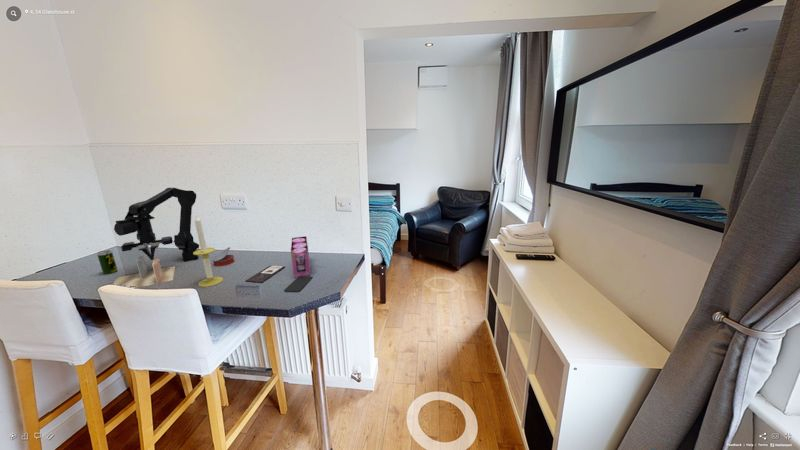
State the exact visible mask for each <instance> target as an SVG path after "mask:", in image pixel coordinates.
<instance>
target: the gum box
mask: <svg viewBox="0 0 800 450" xmlns="http://www.w3.org/2000/svg"><path fill="white" fill-rule="evenodd" d="M308 244H309V243H308V238H307V236H297V237H292V238H291V244H290V245H291V246H290V255H291V261H292V272H293V278H297V277H299V276H311V263H310V254H309V245H308Z"/></svg>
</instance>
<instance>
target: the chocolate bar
mask: <svg viewBox="0 0 800 450" xmlns="http://www.w3.org/2000/svg"><path fill="white" fill-rule="evenodd" d="M285 268H286V266H280V265H268V266H267V267H265V268H264V269H262V270H261V271H259V272H257V273H256V274H254V275H252V276H251V277H248V278H247V279H245V281H244V282H246V283H255V284H256V283H257V284H263V283H265V282H266V281H268V280H269V279H271V278H273V276H275V275H277V274H278V273H281V272H282V271H283V270H284V269H285Z"/></svg>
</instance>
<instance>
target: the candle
mask: <svg viewBox="0 0 800 450" xmlns="http://www.w3.org/2000/svg"><path fill="white" fill-rule="evenodd" d="M194 223H195V224H194V225H195V228H196V234H197V238H198V241H199V243H198V244H199V247H200V249H197V251H195V252H193V254H194V255H198V256H201V259H202V264H203V267H204V272H205V276H206V278H204V279H203V280H200V281H199V282H198V286H199V288H200V287H203V288H205V287H212V286H215V285H218V284H220V283H222V282H223V281H224V278H223V277H222V276H213V270H212V265H211V261H210V257H209V254H212V253H214V252H216V248H215V247H214V248H213V247H207V245H206V239H205V234H204V230H203V225H202V221H201V219H200V218H199V217H198V215H197V214H196V216H195V219H194Z"/></svg>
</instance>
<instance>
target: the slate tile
mask: <svg viewBox="0 0 800 450" xmlns="http://www.w3.org/2000/svg"><path fill="white" fill-rule="evenodd" d="M136 265H137V269H138V273H140V276H141V278H146V276H147V274H148V271H149V270H148V267H147V262H146V259H145V255H139V256H138V257H137V259H136Z"/></svg>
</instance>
